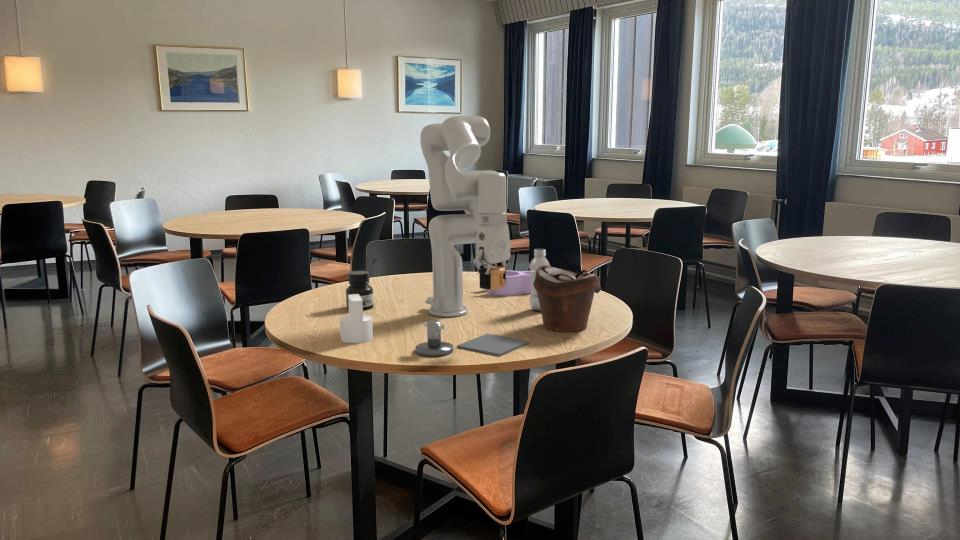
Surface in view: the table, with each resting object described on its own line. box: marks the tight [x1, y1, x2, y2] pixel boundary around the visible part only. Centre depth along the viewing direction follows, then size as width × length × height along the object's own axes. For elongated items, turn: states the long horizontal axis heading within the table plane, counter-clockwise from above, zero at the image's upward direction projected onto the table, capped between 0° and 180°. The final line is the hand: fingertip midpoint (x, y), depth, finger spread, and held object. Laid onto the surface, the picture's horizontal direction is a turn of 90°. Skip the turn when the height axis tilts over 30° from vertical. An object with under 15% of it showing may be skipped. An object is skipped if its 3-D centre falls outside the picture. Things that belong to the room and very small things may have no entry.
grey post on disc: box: [415, 319, 454, 358], centre depth 187 cm, size 10×10×8 cm
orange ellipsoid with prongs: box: [484, 265, 505, 290], centre depth 189 cm, size 6×6×6 cm
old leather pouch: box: [533, 265, 602, 333], centre depth 209 cm, size 18×20×18 cm
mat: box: [456, 333, 530, 357], centre depth 192 cm, size 14×14×1 cm
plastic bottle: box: [529, 248, 551, 312], centre depth 229 cm, size 6×7×20 cm
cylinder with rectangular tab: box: [339, 294, 374, 344], centre depth 199 cm, size 9×9×12 cm
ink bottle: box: [345, 270, 374, 311], centre depth 236 cm, size 10×9×12 cm
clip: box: [484, 269, 532, 296], centre depth 259 cm, size 20×12×7 cm, turn 95°
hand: (492, 285), depth 189 cm, fingers closed on orange ellipsoid with prongs, 6 cm apart
